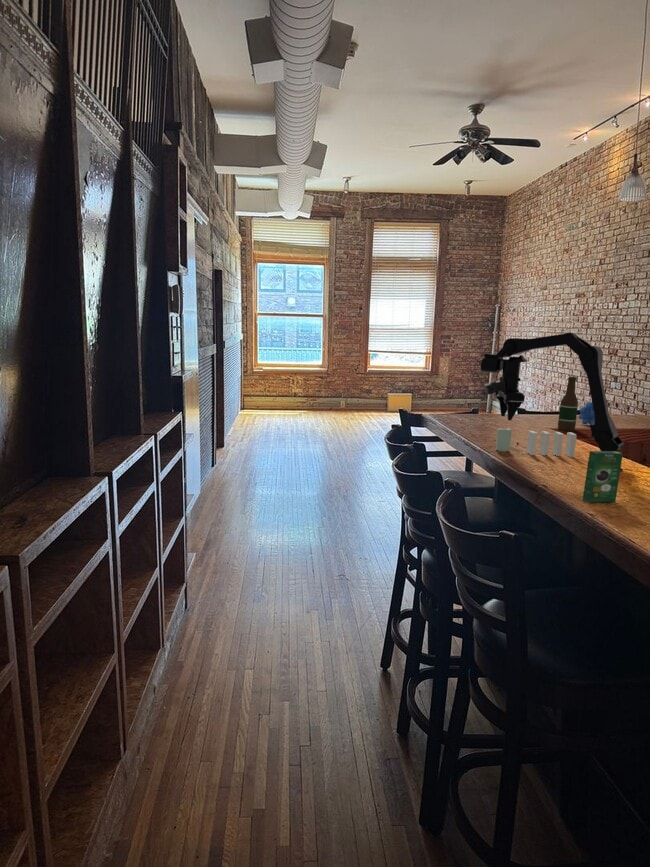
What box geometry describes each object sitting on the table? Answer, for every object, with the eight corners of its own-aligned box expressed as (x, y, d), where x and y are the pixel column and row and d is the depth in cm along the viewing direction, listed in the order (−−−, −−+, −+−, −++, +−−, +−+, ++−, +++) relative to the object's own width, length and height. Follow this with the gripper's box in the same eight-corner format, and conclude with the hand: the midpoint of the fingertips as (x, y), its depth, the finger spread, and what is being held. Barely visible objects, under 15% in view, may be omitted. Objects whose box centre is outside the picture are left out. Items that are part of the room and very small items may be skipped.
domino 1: (508, 450, 198) (510, 429, 196) (509, 451, 196) (511, 429, 195) (495, 450, 198) (497, 428, 197) (496, 451, 197) (498, 429, 195)
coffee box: (609, 499, 142) (615, 450, 140) (616, 502, 139) (623, 452, 137) (581, 500, 140) (588, 450, 138) (589, 503, 138) (595, 452, 135)
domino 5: (573, 457, 191) (576, 434, 189) (569, 457, 191) (572, 434, 189) (568, 454, 195) (571, 432, 194) (564, 454, 195) (567, 432, 194)
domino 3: (547, 456, 191) (550, 433, 190) (543, 455, 191) (545, 433, 190) (543, 453, 196) (545, 431, 194) (538, 452, 196) (541, 431, 194)
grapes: (604, 425, 264) (607, 400, 262) (604, 427, 258) (607, 402, 256) (577, 422, 269) (580, 398, 267) (577, 424, 263) (580, 400, 261)
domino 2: (534, 455, 192) (537, 433, 190) (530, 455, 192) (532, 432, 190) (530, 452, 196) (533, 430, 195) (526, 452, 196) (528, 430, 195)
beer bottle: (553, 429, 248) (559, 376, 244) (561, 427, 253) (567, 375, 249) (570, 431, 243) (577, 377, 238) (578, 430, 248) (585, 377, 243)
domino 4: (560, 456, 191) (563, 434, 190) (556, 456, 191) (558, 434, 190) (556, 453, 196) (558, 431, 194) (551, 453, 196) (554, 431, 194)
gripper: (481, 371, 202) (477, 413, 205) (493, 375, 184) (489, 421, 187) (512, 372, 201) (508, 414, 204) (527, 377, 183) (522, 422, 186)
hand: (506, 418), depth 195 cm, fingers open, 9 cm apart
